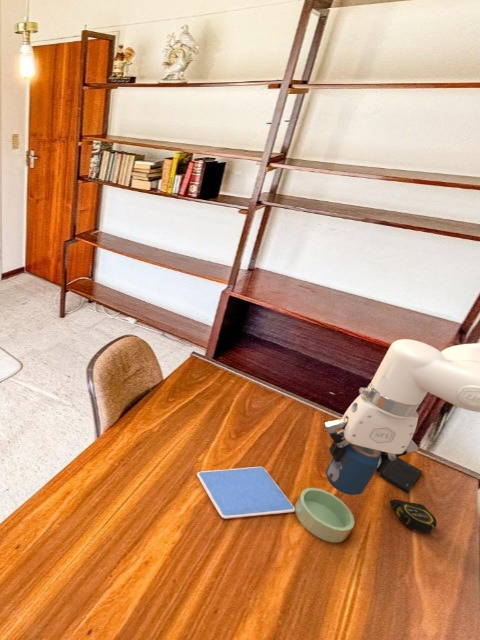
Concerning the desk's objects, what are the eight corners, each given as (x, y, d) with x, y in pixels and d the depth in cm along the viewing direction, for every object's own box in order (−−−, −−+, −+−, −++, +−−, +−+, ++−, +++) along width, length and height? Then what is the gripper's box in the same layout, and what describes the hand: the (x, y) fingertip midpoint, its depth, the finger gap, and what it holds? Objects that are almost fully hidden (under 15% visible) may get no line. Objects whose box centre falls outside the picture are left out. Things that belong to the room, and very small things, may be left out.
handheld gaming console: (421, 493, 99) (404, 454, 101) (384, 491, 104) (368, 453, 106) (423, 472, 107) (408, 436, 108) (389, 471, 112) (374, 436, 114)
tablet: (261, 468, 106) (263, 465, 106) (296, 513, 95) (297, 509, 95) (194, 474, 104) (195, 471, 104) (221, 521, 93) (223, 517, 92)
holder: (351, 522, 94) (359, 510, 92) (340, 552, 87) (348, 540, 85) (302, 491, 101) (308, 480, 99) (288, 517, 94) (294, 505, 92)
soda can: (367, 489, 87) (391, 450, 82) (352, 503, 84) (376, 464, 78) (332, 465, 92) (353, 428, 87) (317, 478, 89) (337, 440, 84)
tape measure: (418, 512, 97) (425, 502, 95) (437, 539, 91) (445, 529, 89) (386, 505, 98) (393, 495, 96) (403, 532, 92) (410, 522, 90)
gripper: (346, 400, 76) (313, 464, 84) (458, 424, 72) (412, 489, 79) (332, 376, 83) (303, 437, 91) (434, 397, 78) (394, 459, 86)
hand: (354, 461), depth 85 cm, fingers closed on soda can, 7 cm apart
